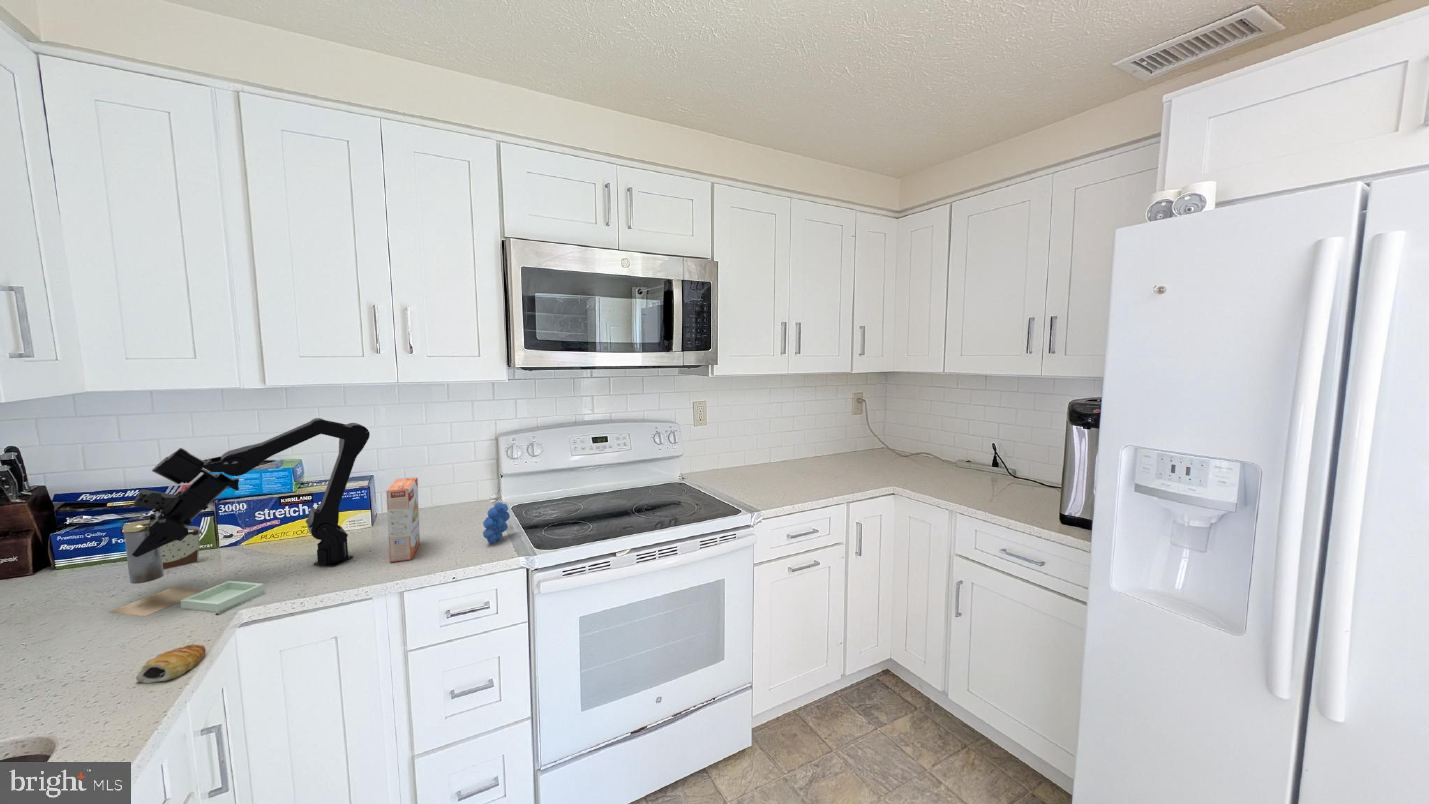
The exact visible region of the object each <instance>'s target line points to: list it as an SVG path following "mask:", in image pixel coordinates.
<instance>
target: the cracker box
mask: <svg viewBox="0 0 1429 804" xmlns="http://www.w3.org/2000/svg"><path fill="white" fill-rule="evenodd" d="M418 484H419V479H418V477H404V478H403V477H402V478H396V479H395V481H393V482H392V483H391V485H390V486H389V487H388V488H387V489H386V513H387V514H386V517H387V535H388V555H389V556H388V557H389V558H388V559H389V560H388V561H389V563H395V562H403V561H405V562H406V561H412V560H413V557H414V556H415V554H416V551H417V550H418V547H419V545H420V543H421V538H420V512H419V509H420V508H419V486H418Z"/></svg>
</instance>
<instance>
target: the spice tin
mask: <svg viewBox="0 0 1429 804" xmlns="http://www.w3.org/2000/svg"><path fill="white" fill-rule="evenodd" d="M153 521H154V520H150V519H144V520H139V521H134V522H130V523H126V524H124V525H123V526H122V531H123V535H124V543H125V544H124V545H125V550H126V551H125V552H126V560H127V568H128V576H129V583H130V584H132V585H133V584H134V585H137V584H144V583H148V582H149V583H150V582H152V581H156V580H158V579H161V578H162V577H164V576H165V574H164V573H165V572H164V570H163V562H162V553H161V547H159V548H156V549H154V550H152V551H150V552H148V553H145V554H143V555H141V556H139V557H135V556H132V554H133V552H134V551H135V550H136V549H137V547H138V546H139V545H140V544H141V543H142V541H143V540H144V539H145V538H146V536H147V535H148V534H149V528H148V526H149V523H150V524H151V523H152V522H153Z"/></svg>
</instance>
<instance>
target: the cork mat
mask: <svg viewBox="0 0 1429 804" xmlns="http://www.w3.org/2000/svg"><path fill="white" fill-rule="evenodd" d="M205 590H206V589H205ZM205 590H203V589H193V588H185V587H170V588H168V589H165V590H162V591H160V592H157V593H154V594H151V595H149V596H147V597H144V598H141V599H139V600H136V601H133V602H130V603H129V604H126V605H123V606H121V607H118V608H116V609H113V610H110V611H107V613H110V614H117V615H118V614H119V615H128V616H139V617H146V616H149V615H152V614H154V613H156V612H159V611H162V610H163V609H166V608H168V607H172V606H173V605H175V604H178V603H181V600H183V599H185V598H188V597H190V596H193V595H195V594H198V593H200V592H202V591H205Z"/></svg>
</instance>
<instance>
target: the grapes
mask: <svg viewBox="0 0 1429 804" xmlns="http://www.w3.org/2000/svg"><path fill="white" fill-rule="evenodd" d="M508 511H509V507H508V505H507V504H506V503H502V502H500V501H497V502H496V503H495V504H494V505H493V507H491V508H489V509H488V510H487V511H486V514H487V516H488V517H486V518H485V519H484V521H483V523H482V524H483V528H485V529H484V531H483V532H482V535H483V537H484V539H486V541H487V542H488V544H493V543H495V542H497V541H500V540H501V539H502V538H503V533H504V532H506V531H507V530H508V527H509V526H508V523H507V521H509V519H510V516H511V515H510V512H508Z"/></svg>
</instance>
